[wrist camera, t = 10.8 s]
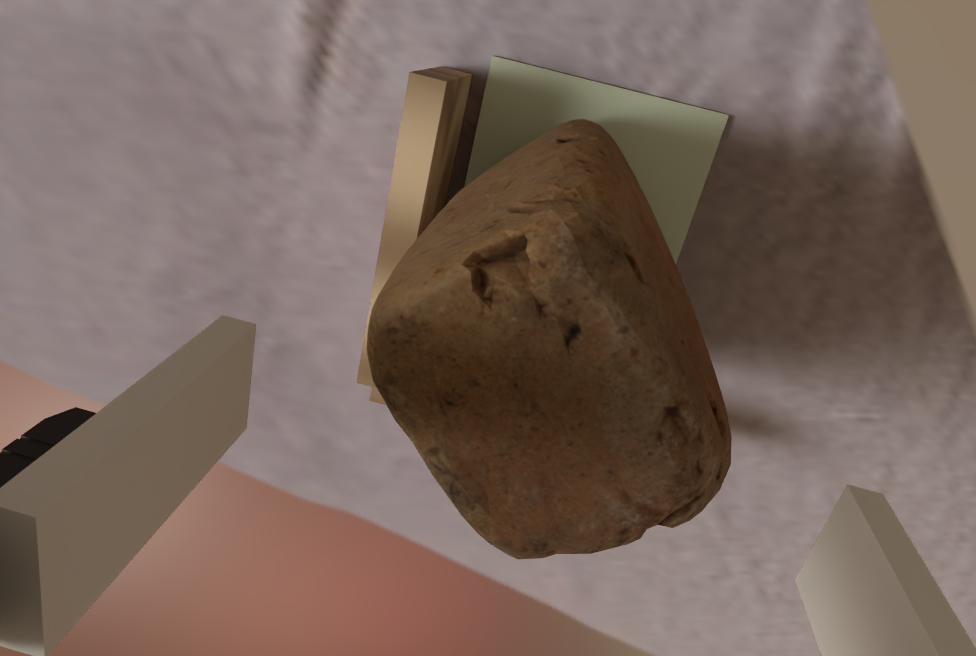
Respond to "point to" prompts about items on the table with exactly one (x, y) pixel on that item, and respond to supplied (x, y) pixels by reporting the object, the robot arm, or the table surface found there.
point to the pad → (622, 114)
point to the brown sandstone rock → (552, 355)
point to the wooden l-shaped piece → (418, 174)
